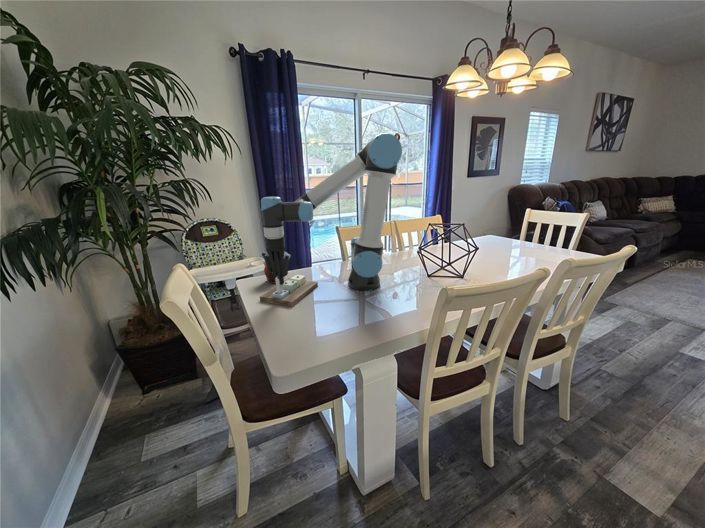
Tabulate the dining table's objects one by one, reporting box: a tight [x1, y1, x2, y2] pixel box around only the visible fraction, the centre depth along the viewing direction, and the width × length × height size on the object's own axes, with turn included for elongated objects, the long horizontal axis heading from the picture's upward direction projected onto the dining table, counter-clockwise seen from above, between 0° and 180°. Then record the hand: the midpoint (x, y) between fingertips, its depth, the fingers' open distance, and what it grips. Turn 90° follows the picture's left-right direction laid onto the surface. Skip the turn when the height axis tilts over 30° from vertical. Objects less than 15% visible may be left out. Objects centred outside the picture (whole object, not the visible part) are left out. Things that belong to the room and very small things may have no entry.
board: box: [259, 278, 319, 307], centre depth 128 cm, size 16×22×2 cm
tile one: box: [290, 274, 307, 286], centre depth 134 cm, size 5×5×4 cm
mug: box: [262, 259, 274, 283], centre depth 140 cm, size 12×9×10 cm
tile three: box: [272, 290, 289, 299], centre depth 122 cm, size 5×5×4 cm
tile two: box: [283, 279, 298, 292], centre depth 128 cm, size 5×5×4 cm
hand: (280, 291), depth 121 cm, fingers closed
